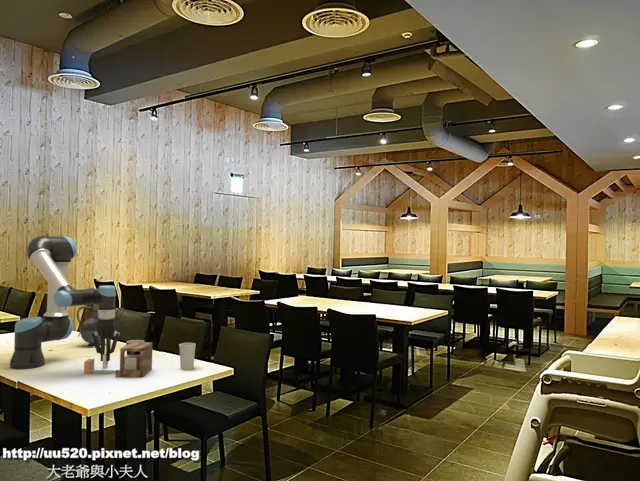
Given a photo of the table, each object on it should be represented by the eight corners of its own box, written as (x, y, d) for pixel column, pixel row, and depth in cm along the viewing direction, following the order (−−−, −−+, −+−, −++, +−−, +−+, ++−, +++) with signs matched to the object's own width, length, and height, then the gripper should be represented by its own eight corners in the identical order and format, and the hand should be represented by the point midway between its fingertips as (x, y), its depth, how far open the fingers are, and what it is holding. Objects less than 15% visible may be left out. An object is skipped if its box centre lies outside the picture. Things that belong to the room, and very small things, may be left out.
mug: (128, 363, 259) (128, 343, 259) (123, 360, 266) (124, 340, 267) (151, 360, 266) (152, 341, 266) (147, 357, 273) (147, 338, 273)
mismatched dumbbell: (83, 374, 235) (84, 357, 235) (89, 371, 241) (89, 354, 241) (136, 374, 237) (136, 357, 237) (139, 371, 243) (140, 354, 243)
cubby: (115, 377, 232) (116, 348, 232) (125, 369, 247) (126, 342, 247) (142, 377, 232) (143, 348, 233) (151, 369, 247) (152, 342, 248)
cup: (180, 370, 246) (181, 346, 246) (177, 367, 253) (177, 343, 253) (196, 369, 249) (197, 345, 249) (193, 365, 256) (193, 342, 256)
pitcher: (111, 345, 305) (112, 295, 305) (80, 349, 290) (81, 297, 290) (102, 342, 312) (103, 294, 312) (71, 347, 297) (72, 296, 297)
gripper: (89, 319, 235) (87, 369, 235) (117, 319, 236) (116, 370, 236) (95, 316, 243) (94, 366, 242) (123, 317, 243) (121, 366, 243)
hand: (105, 368), depth 239 cm, fingers closed
